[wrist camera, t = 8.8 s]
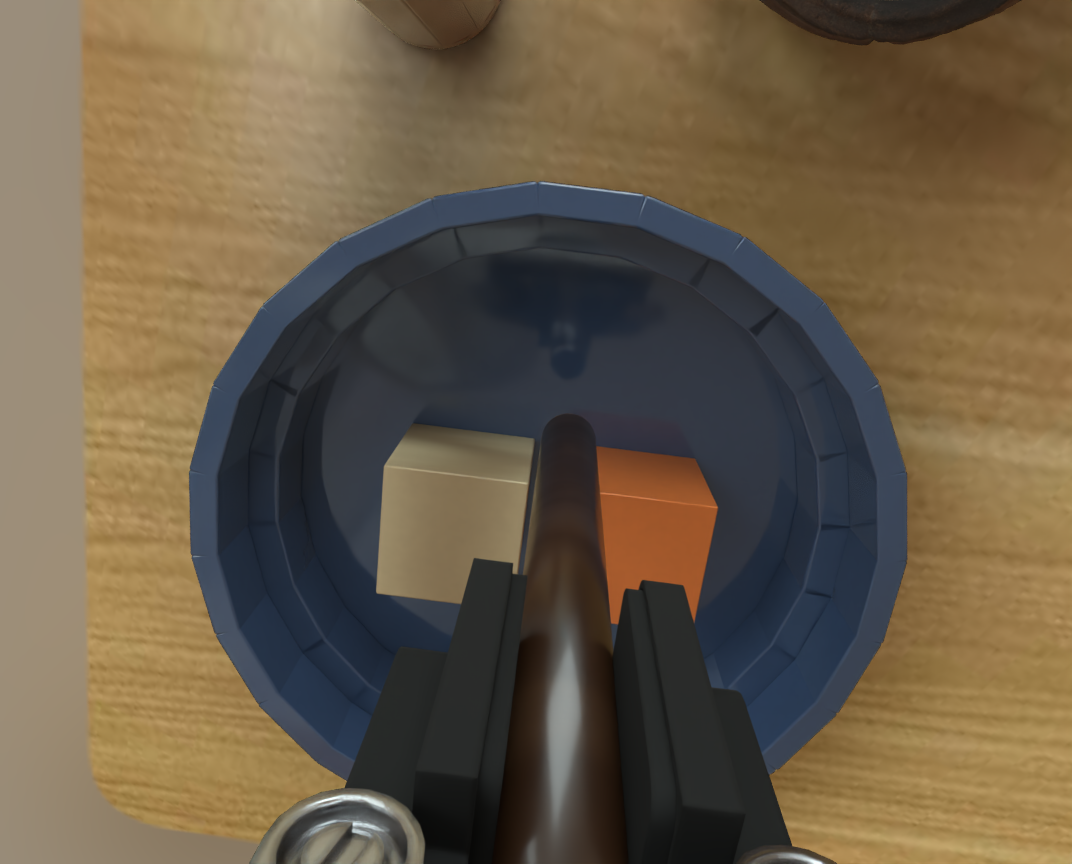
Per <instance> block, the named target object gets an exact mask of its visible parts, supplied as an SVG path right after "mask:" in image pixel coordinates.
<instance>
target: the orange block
mask: <svg viewBox="0 0 1072 864" xmlns="http://www.w3.org/2000/svg"><path fill="white" fill-rule="evenodd" d="M596 449H597V461H598V473H599V485H600V497H601V509H602V521H603V533H604V545H605V557H606V569H607V581H608V593H609V605H610V617H611V624H618V622H619V616H620V611H621V605H622V599H623V594H624V591H625V589H626V588H628V589H635V590H638V589H639V586H640V583H641V581H642V580H648V581H656V582H664V583H671V584H679V585H683V586H684V588H685V592H686V595H687V599H688V603H689V606H690V610H691V614H692V617H693V621H694V622H695V617H696V612H697V607H698V603H699V598H700V593H701V588H702V583H703V579H704V574H705V569H706V564H707V559H708V555H709V550H710V545H711V540H712V535H713V531H714V526H715V521H716V516H717V511H718V506H717V504H716V502H715V500H714V498H713V496H712V494H711V491H710V489H709V487H708V485H707V483H706V481H705V479H704V477H703V474H702V472H701V470H700V468H699V466H698V464H697V462H696V460H695V459H694V458H686V457H678V456H670V455H662V454H654V453H646V452H638V451H630V450H622V449H614V448H606V447H599V446H596Z"/></svg>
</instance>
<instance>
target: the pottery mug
mask: <svg viewBox="0 0 1072 864" xmlns="http://www.w3.org/2000/svg"><path fill="white" fill-rule="evenodd" d="M760 1H761V2H762V3H764V4H765V5H766V6H768V7H769V8H770V9H772V10H773V11H775V12H777V13H778V14H779V15H781V16H782V17H784V18H785V19H787V20H788V21H790V22H792V23H794V24H795V25H797V26H799V27H801V28H803V29H805V30H807V31H809V32H811V33H814V34H816V35H819V36H821V37H824V38H828V39H831V40H837V41H840V42H844V43H849V44H855V45H868V44H870V43H871V42H872V41H873V40H875V41H877V42H889V43H892V44H908V43H912V42H917V41H923V40H927V39H931V38H934V37H936V36H939V35H942V34H946V33H949V32H952V31H954V30H957V29H960V28H962V27H965V26H966V25H969V24H972V23H974V22H977V21H980V20H983V19H986V18H988V17H990V16H993V15H995V14H999V13H1001V12H1003V11H1004V10H1006V9H1007V8H1009V7H1011V6H1013V5H1014V4H1016V3H1018V2H1019V1H1021V0H760Z"/></svg>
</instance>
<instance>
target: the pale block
mask: <svg viewBox="0 0 1072 864" xmlns="http://www.w3.org/2000/svg"><path fill="white" fill-rule="evenodd" d="M534 444H535V439H533V438H526V437H518V436H510V435H502V434H494V433H487V432H479V431H471V430H463V429H455V428H447V427H439V426H431V425H423V424H415V423H413V424H412V425H411V426H410V428H409V429H408V431H407V432H406V434H405V435H404V437H403V438H402V440H401V441H400V443H399V444H398V446H397V447H396V449H395V450H394V452H393V453H392V455H391V456H390V458H389V459H388V461H387V462H386V464H385V465H384V472H383V488H382V504H381V520H380V536H379V552H378V569H377V585H376V593H377V594H384V595H392V596H400V597H408V598H415V599H423V600H431V601H439V602H447V603H455V604H461V603H462V599H463V595H464V592H465V588H466V585H467V581H468V577H469V574H470V570H471V566H472V563H473V559H474V558H479V559H486V560H494V561H502V562H509V563H513V572H512V574H518V571H519V563H520V556H521V548H522V540H523V532H524V524H525V516H526V508H527V500H528V492H529V484H530V476H531V468H532V460H533V452H534Z"/></svg>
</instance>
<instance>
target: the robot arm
mask: <svg viewBox="0 0 1072 864" xmlns="http://www.w3.org/2000/svg"><path fill="white" fill-rule="evenodd" d="M512 572H513V563H509V562H502V561H494V560H486V559H479V558H474V559H473V563H472V566H471V570H470V574H469V577H468V581H467V585H466V588H465V592H464V595H463V599H462V603H461V606H460V610H459V614H458V617H457V621H456V625H455V628H454V632H453V636H452V639H451V643H450V647H449V650H448V652H440V651H433V650H425V649H417V648H410V647H402V646H401V647H400V648H399V649H398V651H397V653H396V655H395V658H394V660H393V663H392V666H391V668H390V671H389V673H388V676H387V679H386V681H385V684H384V686H383V689H382V692H381V694H380V697H379V699H378V702H377V705H376V707H375V710H374V712H373V715H372V718H371V720H370V723H369V725H368V728H367V731H366V733H365V736H364V738H363V741H362V744H361V746H360V749H359V751H358V754H357V757H356V759H355V762H354V764H353V767H352V770H351V772H350V775H349V777H348V780H347V783H346V785H345V788H341V789H336V790H330V791H325V792H320V793H318V794H316V795H313V796H311V797H309V798H306V799H304V800H302V801H299V802H297V803H296V804H295V805H293V806H292V807H291V808H289V809H288V810H287V811H285V812H284V813H283V814H281V815H280V816H279V817H278V818H277V819H276V821H275V822H274V823H273V825H272V826H271V827H270V829H269V830H268V831H267V833H266V834H265V835H264V837H263V839H262V841H261V842H260V844H259V846H258V848H257V850H256V851H255V853H254V855H253V857H252V859H251V861H250V863H249V864H492V858H493V850H494V842H495V835H496V827H497V819H498V812H499V804H500V796H501V788H502V780H503V772H504V764H505V756H506V748H507V740H508V732H509V723H510V715H511V707H512V699H513V691H514V683H515V674H516V666H517V658H518V650H519V642H520V634H521V625H522V617H523V609H524V601H525V593H526V585H527V575H520V574H512ZM612 658H613V670H614V683H615V696H616V708H617V721H618V734H619V746H620V759H621V772H622V784H623V797H624V810H625V822H626V835H627V848H628V860H629V864H837V863H836V862H834V861H833V860H830V859H828V858H826V857H824V856H821V855H819V854H817V853H815V852H812V851H810V850H807V849H803V848H798V847H793V846H792V844H791V841H790V838H789V835H788V832H787V829H786V826H785V823H784V819H783V816H782V813H781V810H780V807H779V804H778V801H777V798H776V795H775V792H774V789H773V786H772V783H771V780H770V777H769V774H768V771H767V768H766V765H765V762H764V759H763V756H762V753H761V750H760V747H759V743H758V740H757V737H756V734H755V731H754V728H753V725H752V722H751V719H750V716H749V713H748V710H747V707H746V704H745V701H744V699H743V697H742V695H741V693H740V692H738V691H737V690H730V689H722V688H715V687H711V684H710V680H709V676H708V673H707V669H706V665H705V662H704V658H703V654H702V651H701V647H700V643H699V640H698V636H697V632H696V628H695V625H694V621H693V617H692V614H691V610H690V606H689V603H688V599H687V595H686V592H685V588H684V586H683V585H679V584H671V583H664V582H656V581H648V580H642V581H641V583H640V586H639V589H638V590H635V589H628V588H626V589H625V591H624V594H623V599H622V605H621V611H620V616H619V622H618V628H617V634H616V639H615V645H614V651H613V657H612Z"/></svg>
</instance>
